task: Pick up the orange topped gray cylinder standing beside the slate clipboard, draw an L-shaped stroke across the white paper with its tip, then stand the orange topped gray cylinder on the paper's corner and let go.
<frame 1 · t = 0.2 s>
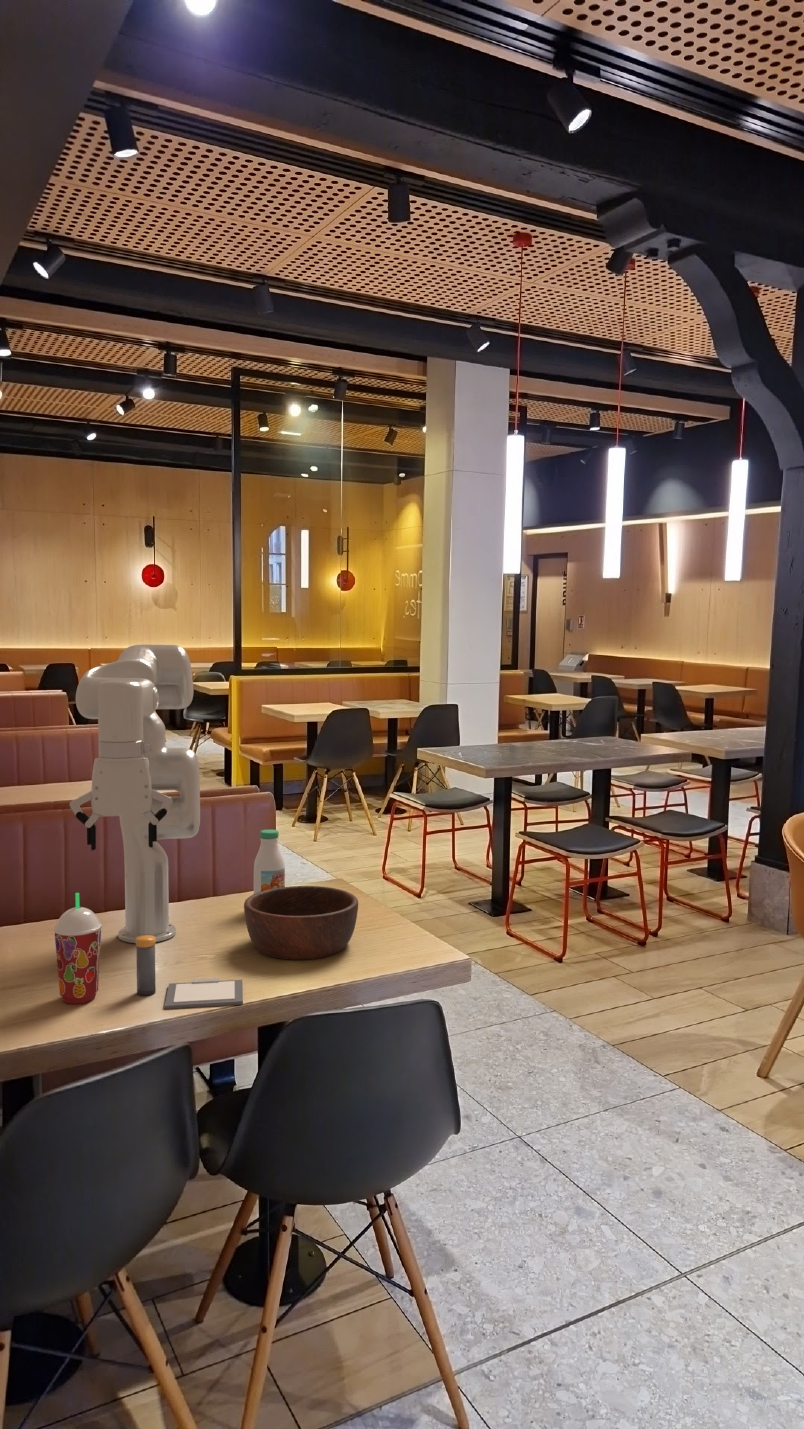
hand: (122, 847, 161), 30 cm above the table, tool pointing down, fingers open, 9 cm apart
orange topped gray cylinder: (146, 992, 173), on the table
wooden bowl: (301, 946, 202), on the table
smoothie: (79, 999, 170), on the table
clipboard: (205, 995, 172), on the table
milk bottle: (269, 910, 228), on the table
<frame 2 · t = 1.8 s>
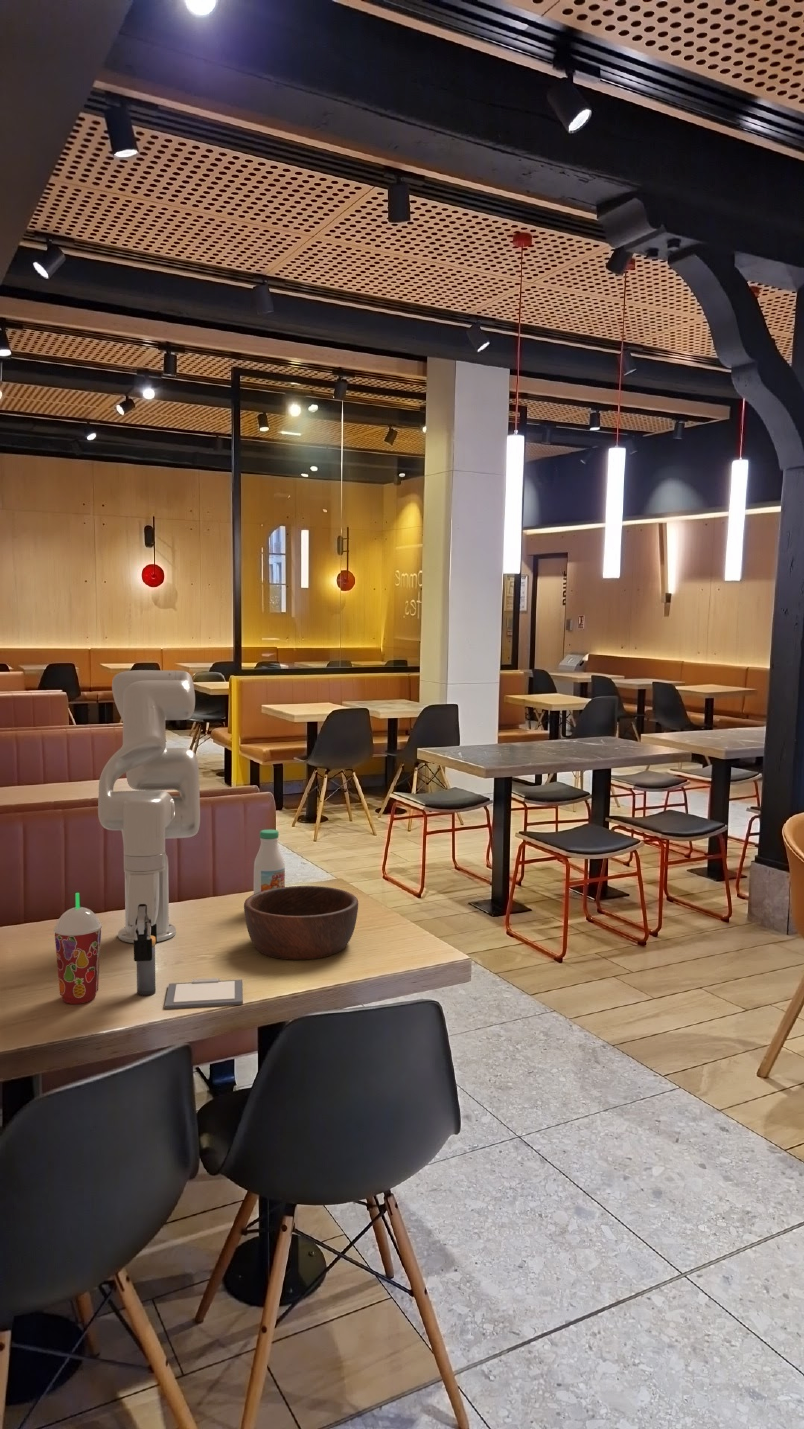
hand: (145, 952, 172), 8 cm above the table, tool pointing down, fingers open, 9 cm apart
nothing on the table moved.
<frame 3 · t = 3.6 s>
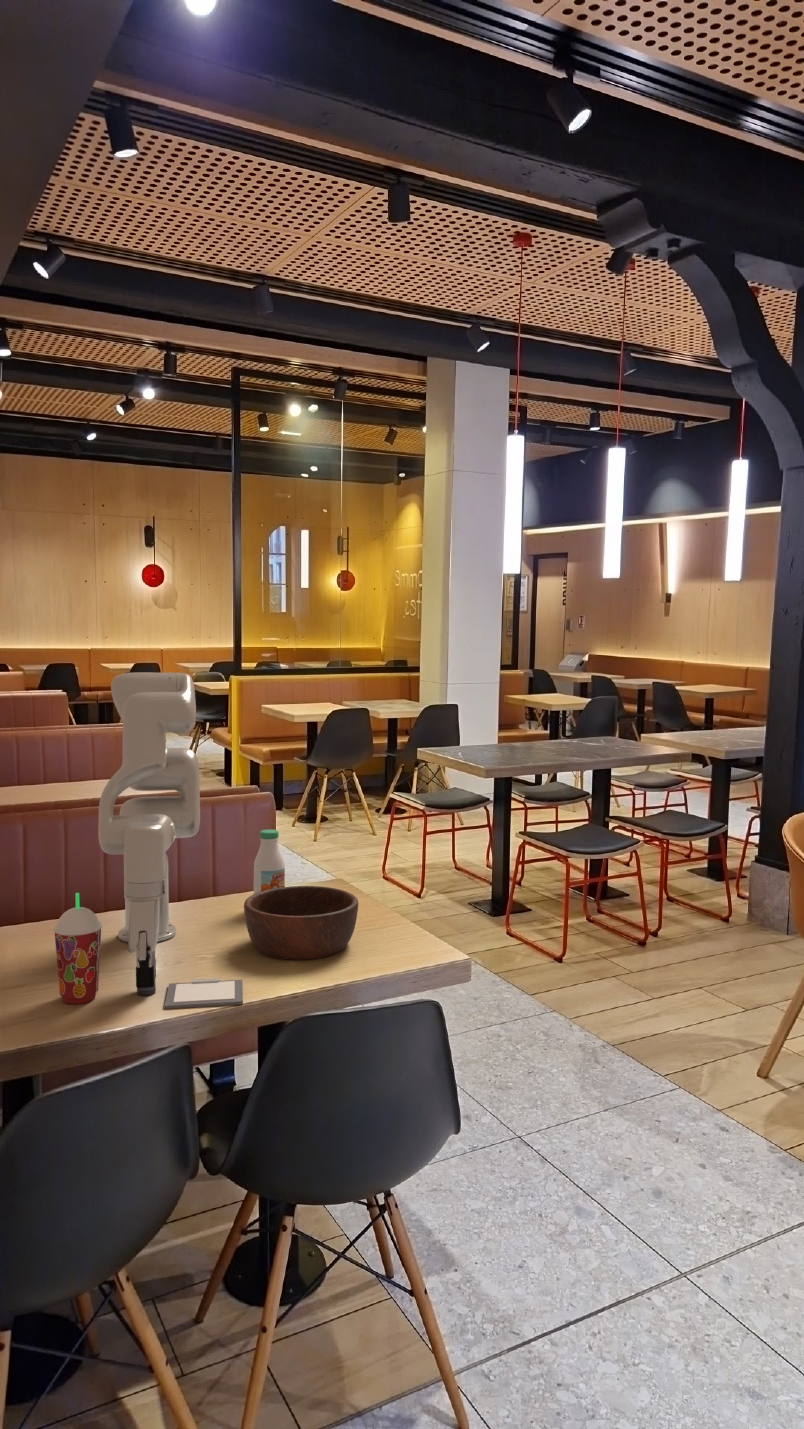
hand: (146, 982, 173), 2 cm above the table, tool pointing down, fingers closed on orange topped gray cylinder, 3 cm apart
orange topped gray cylinder: (146, 992, 173), on the table, touching gripper
everything else where it was.
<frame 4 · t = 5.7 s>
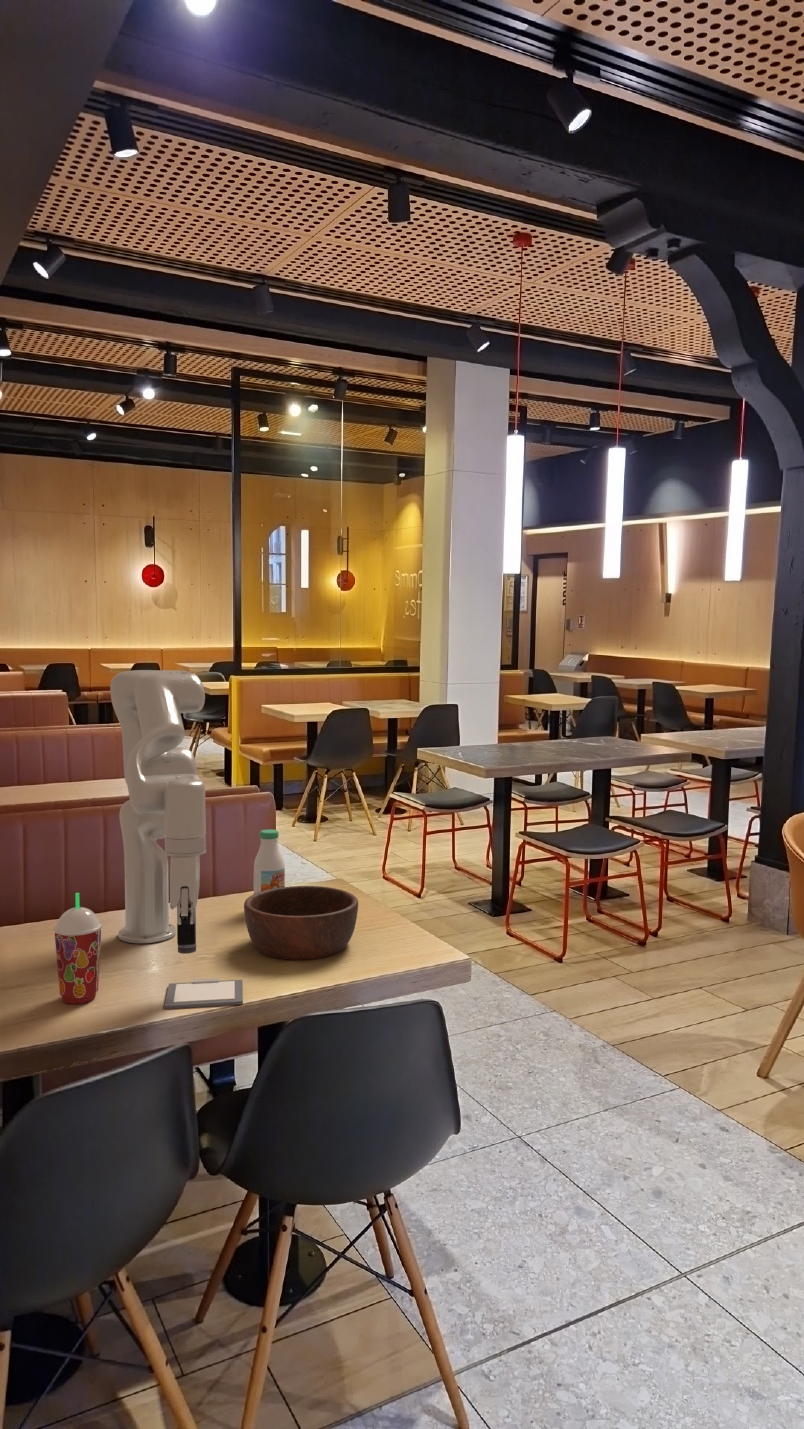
hand: (186, 940, 173), 10 cm above the table, tool pointing down, fingers closed on orange topped gray cylinder, 3 cm apart
orange topped gray cylinder: (187, 950, 173), point 8 cm above the table, touching gripper
everything else where it was.
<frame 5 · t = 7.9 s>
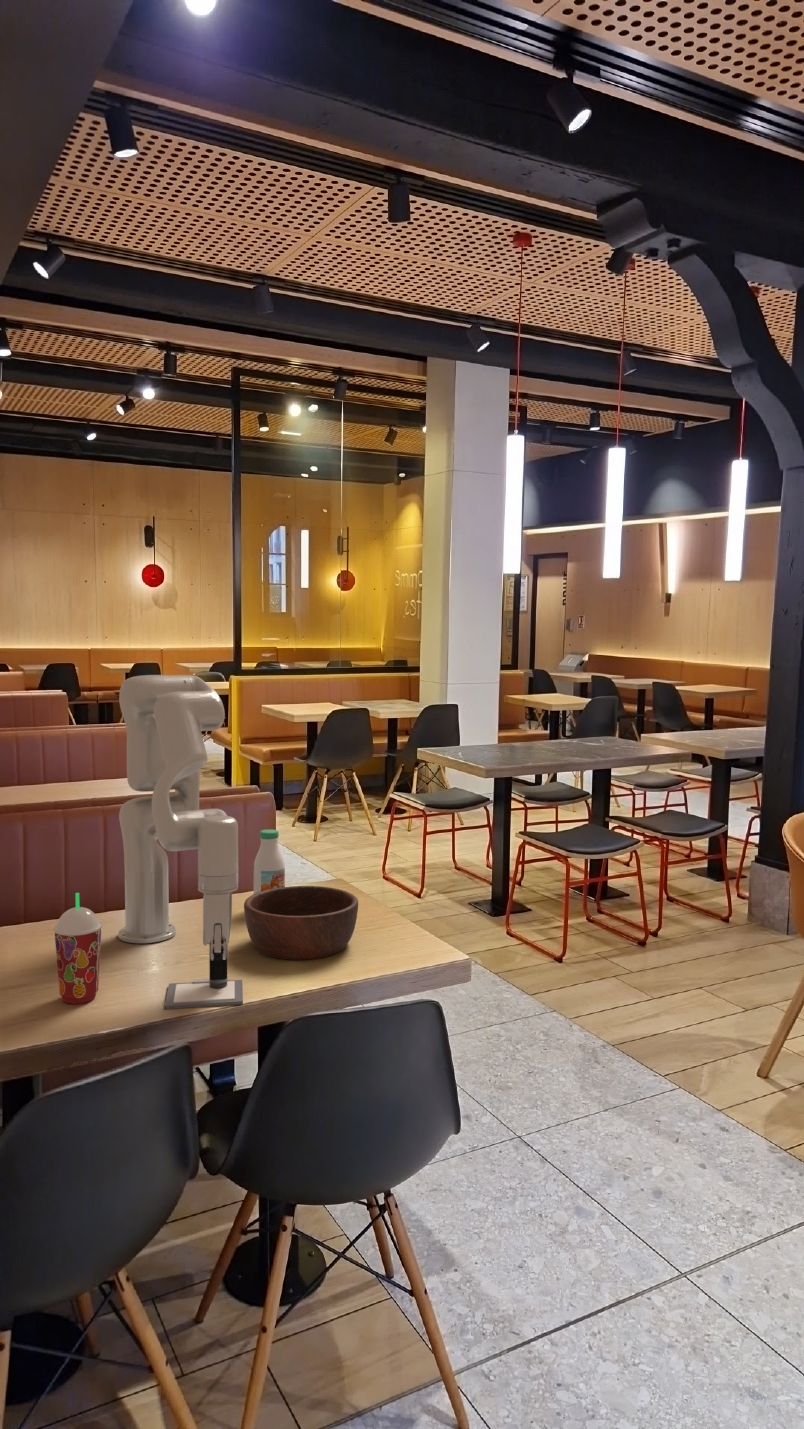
hand: (218, 974, 175), 3 cm above the table, tool pointing down, fingers closed on orange topped gray cylinder, 3 cm apart
orange topped gray cylinder: (218, 985, 175), point 1 cm above the table, touching gripper
everything else where it was.
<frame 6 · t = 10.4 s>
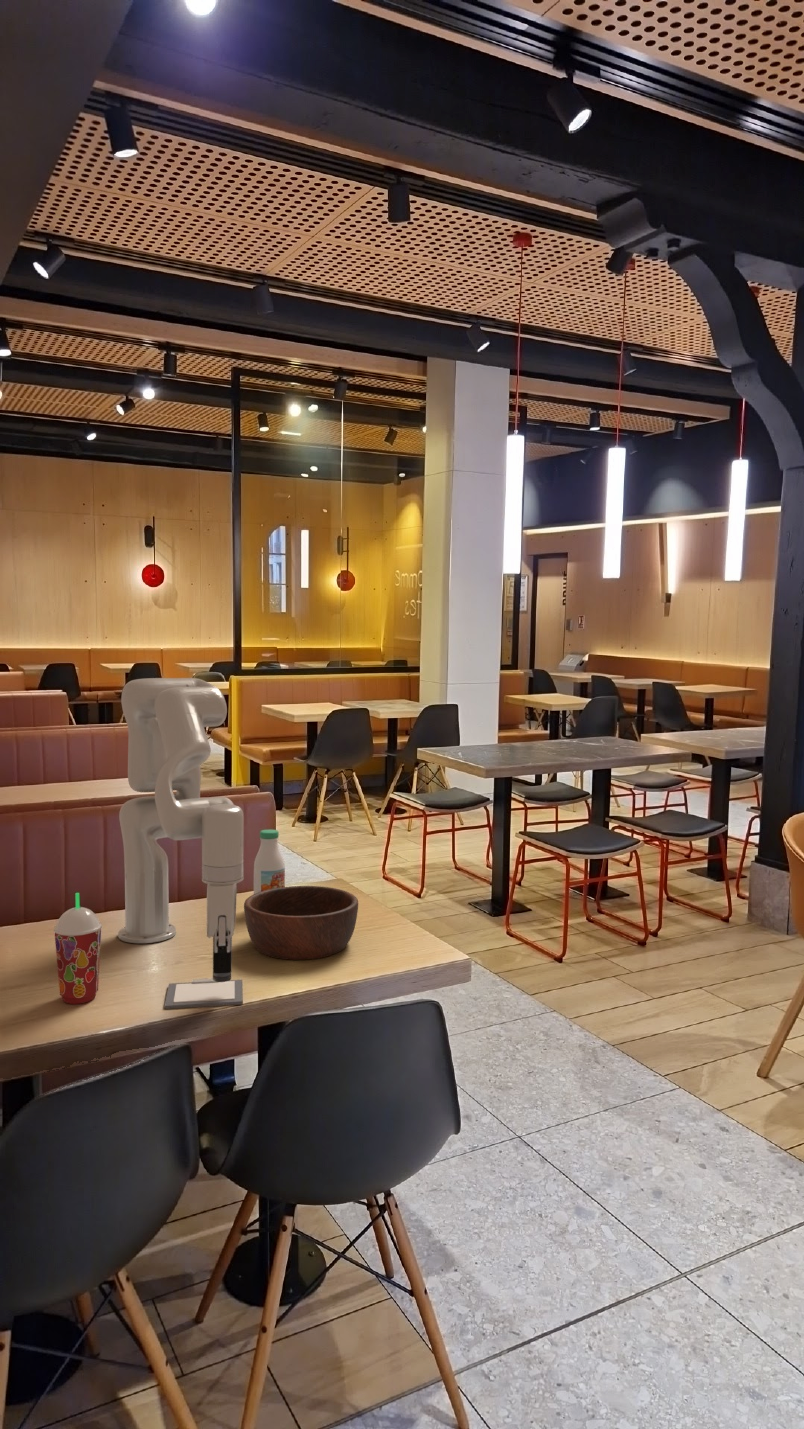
hand: (222, 967, 170), 6 cm above the table, tool pointing down, fingers closed on orange topped gray cylinder, 3 cm apart
orange topped gray cylinder: (222, 978, 170), point 4 cm above the table, touching gripper
everything else where it was.
when the fingers open (4 cm above the table, at t = 12.4 s): orange topped gray cylinder stays where it is, resting on clipboard.
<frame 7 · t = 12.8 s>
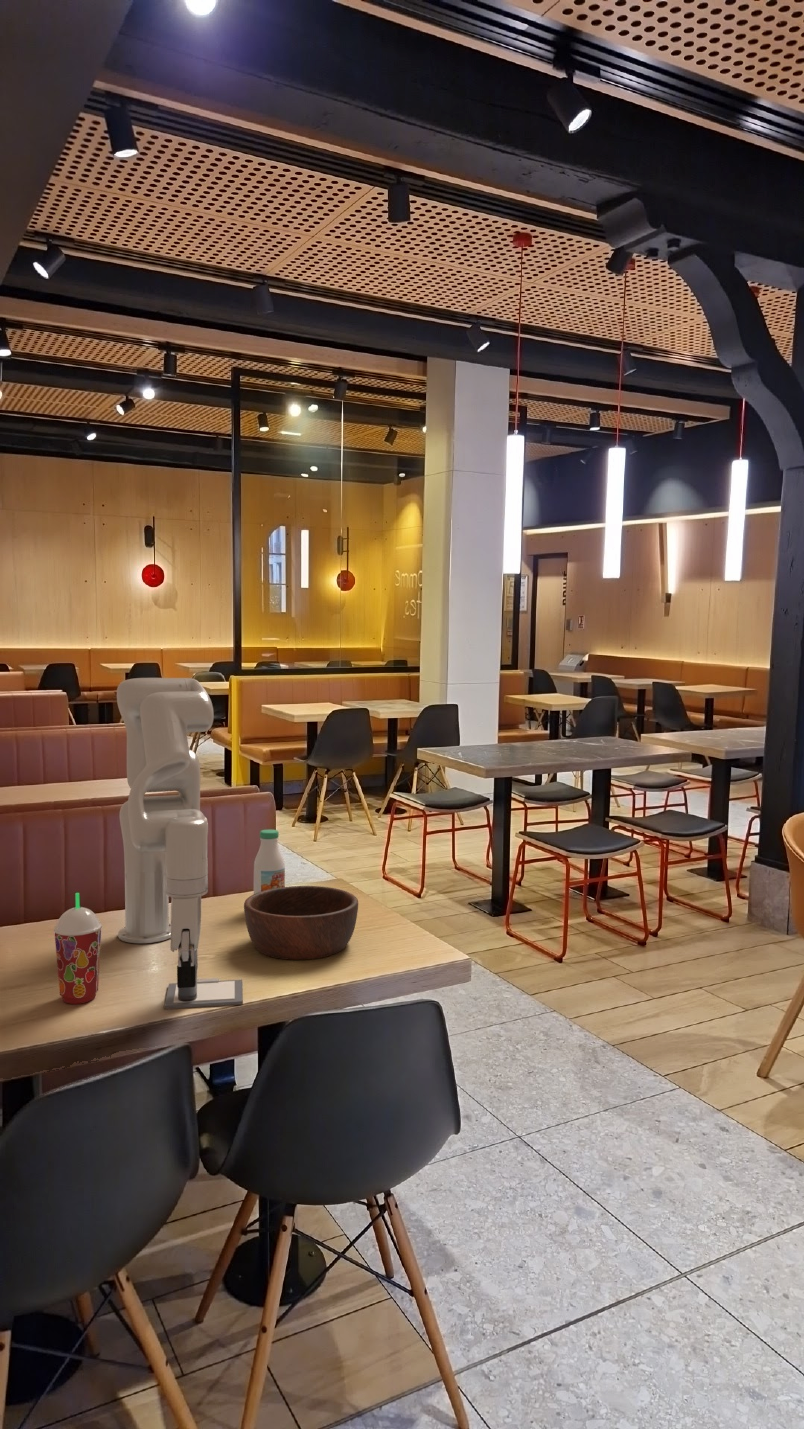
hand: (187, 978, 169), 5 cm above the table, tool pointing down, fingers open, 7 cm apart
orange topped gray cylinder: (187, 997, 169), point 1 cm above the table, touching clipboard
everything else where it was.
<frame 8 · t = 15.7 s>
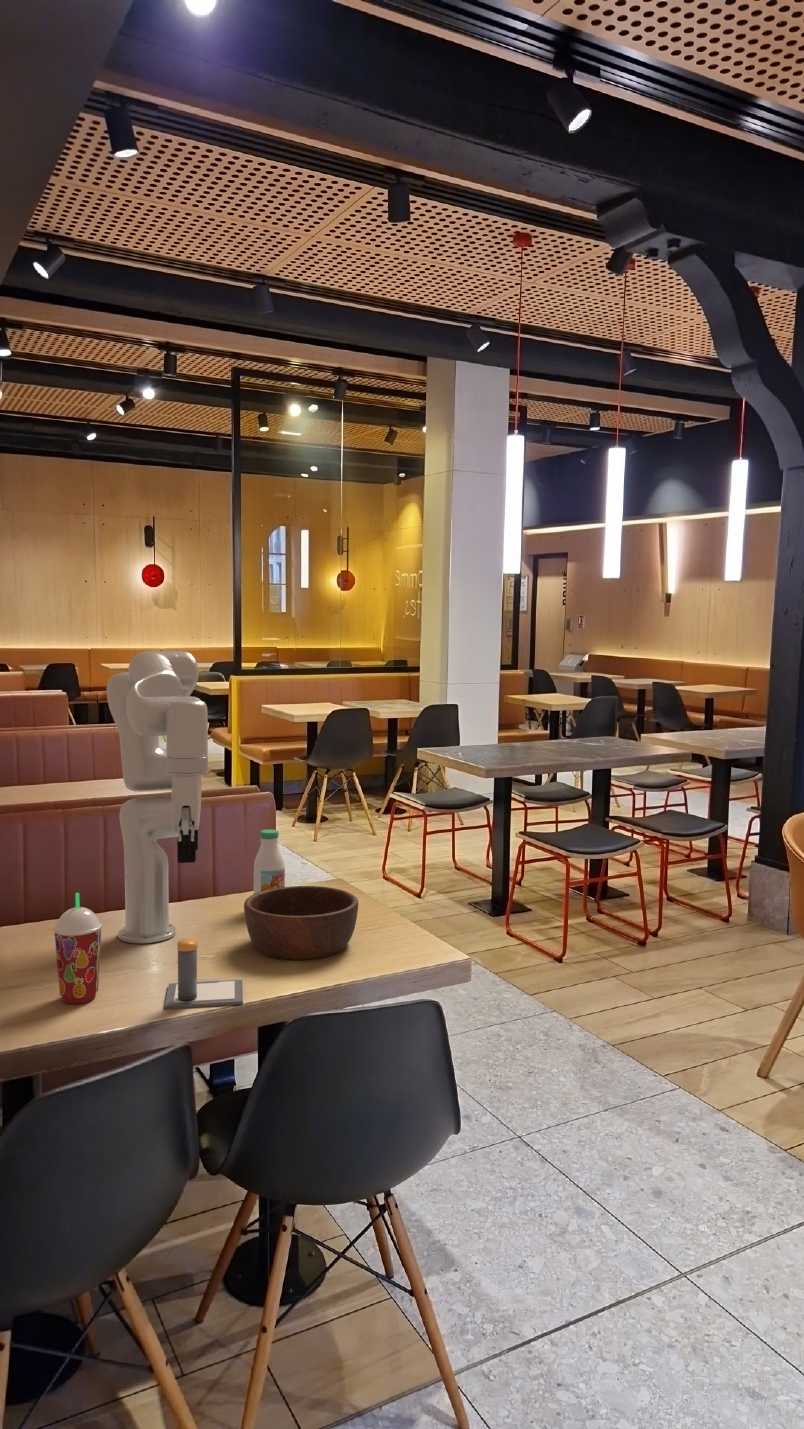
hand: (188, 856, 172), 26 cm above the table, tool pointing down, fingers open, 9 cm apart
nothing on the table moved.
at the end: orange topped gray cylinder inside the target area on the clipboard (4.3 cm from its centre), point 0.8 cm above the clipboard's base; the gripper is holding nothing; orange topped gray cylinder moved 9.9 cm from its start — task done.
